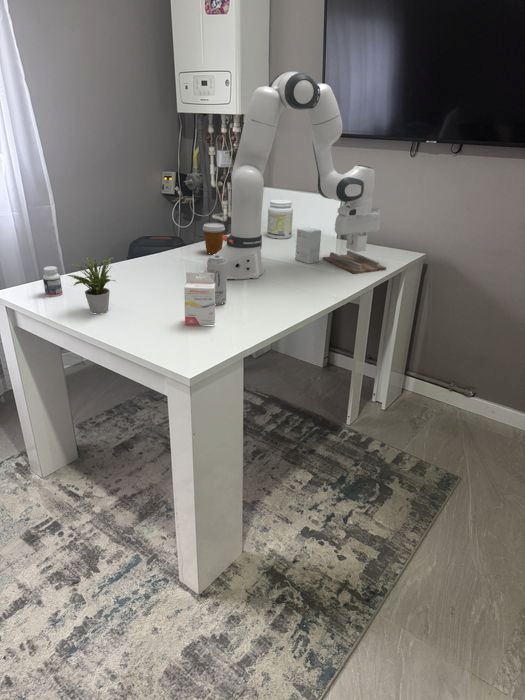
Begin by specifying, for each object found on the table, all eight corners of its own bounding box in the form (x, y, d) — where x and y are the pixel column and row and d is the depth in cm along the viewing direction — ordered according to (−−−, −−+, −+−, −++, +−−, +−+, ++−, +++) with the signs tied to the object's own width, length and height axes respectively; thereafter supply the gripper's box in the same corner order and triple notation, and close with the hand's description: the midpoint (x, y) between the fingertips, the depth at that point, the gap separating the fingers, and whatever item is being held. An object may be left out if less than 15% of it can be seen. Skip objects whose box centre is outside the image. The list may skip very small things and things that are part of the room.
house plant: (96, 298, 162) (91, 248, 155) (133, 305, 157) (129, 254, 150) (66, 313, 150) (58, 259, 143) (104, 321, 145) (98, 266, 138)
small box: (319, 261, 210) (321, 230, 204) (308, 264, 206) (310, 232, 200) (305, 257, 215) (307, 226, 209) (294, 259, 211) (296, 228, 206)
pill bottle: (45, 292, 165) (41, 266, 161) (62, 291, 167) (58, 265, 163) (45, 297, 161) (41, 270, 157) (62, 296, 163) (59, 269, 159)
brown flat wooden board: (353, 274, 195) (354, 266, 194) (322, 259, 213) (322, 252, 211) (385, 269, 202) (387, 262, 201) (353, 255, 219) (353, 249, 218)
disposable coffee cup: (204, 249, 220) (204, 222, 215) (226, 250, 220) (226, 223, 215) (201, 255, 212) (200, 227, 206) (223, 256, 212) (223, 228, 206)
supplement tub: (280, 232, 256) (281, 198, 248) (296, 237, 248) (299, 202, 240) (261, 235, 249) (263, 200, 241) (278, 240, 240) (279, 204, 233)
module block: (356, 252, 201) (358, 237, 198) (346, 247, 206) (347, 233, 204) (365, 251, 203) (367, 236, 200) (355, 246, 208) (356, 232, 206)
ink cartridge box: (184, 326, 144) (182, 276, 137) (186, 319, 148) (184, 271, 142) (214, 326, 144) (214, 277, 138) (215, 320, 149) (215, 272, 142)
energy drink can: (205, 305, 160) (204, 258, 153) (209, 298, 165) (209, 253, 159) (224, 306, 159) (224, 260, 153) (228, 300, 164) (228, 255, 158)
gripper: (375, 206, 204) (371, 239, 210) (334, 209, 196) (331, 244, 202) (386, 208, 199) (381, 243, 205) (343, 211, 191) (340, 247, 197)
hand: (356, 243), depth 204 cm, fingers closed on module block, 4 cm apart
